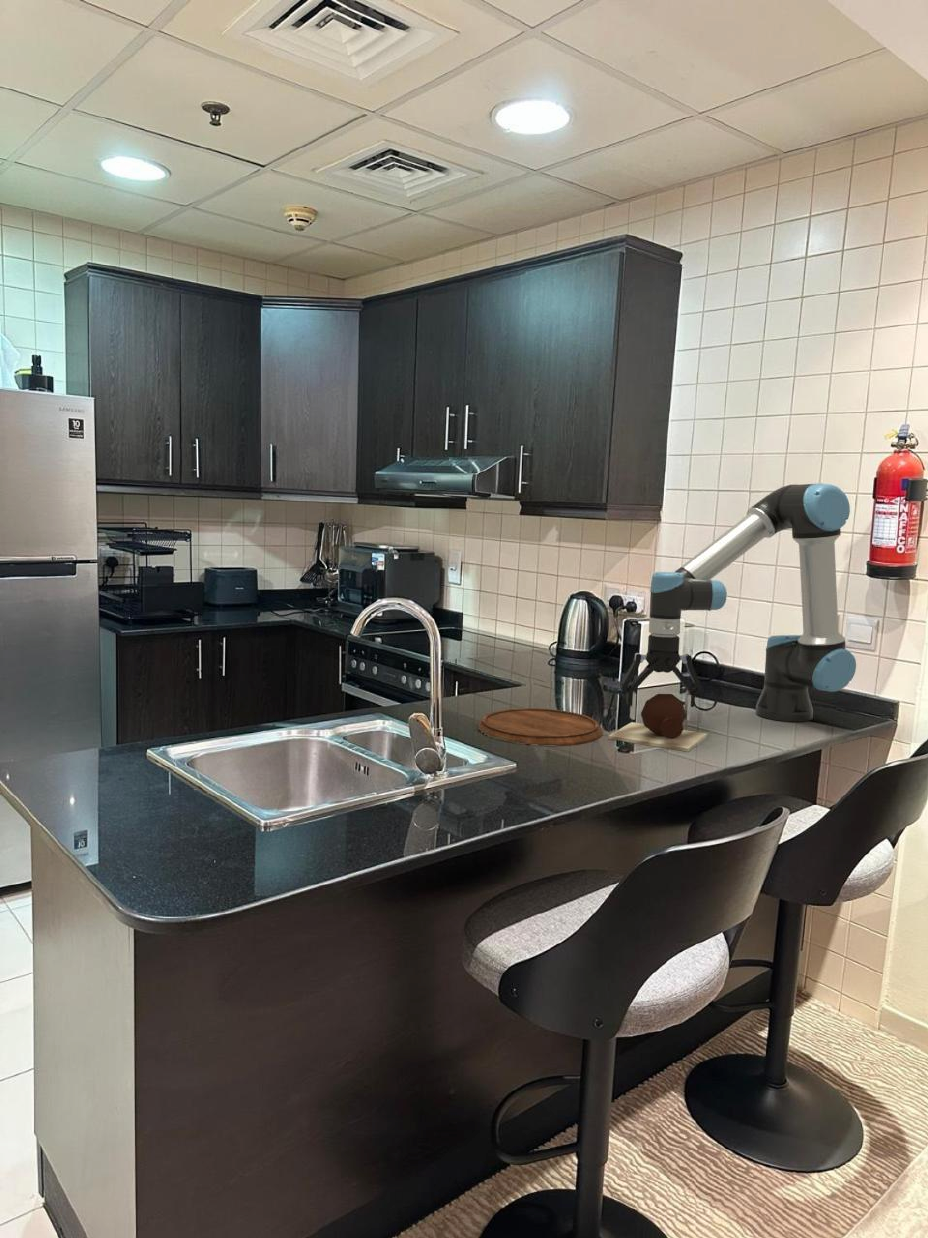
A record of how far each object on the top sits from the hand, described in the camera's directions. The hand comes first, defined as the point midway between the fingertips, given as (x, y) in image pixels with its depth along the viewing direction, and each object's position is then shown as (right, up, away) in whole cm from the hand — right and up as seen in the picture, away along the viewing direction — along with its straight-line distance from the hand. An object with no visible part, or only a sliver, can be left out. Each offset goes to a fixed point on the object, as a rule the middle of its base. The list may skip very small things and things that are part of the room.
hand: (659, 719), depth 217 cm
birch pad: (0, -5, +1) cm, 5 cm away
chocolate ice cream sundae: (+1, -1, -9) cm, 9 cm away
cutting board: (-29, -4, +6) cm, 30 cm away
